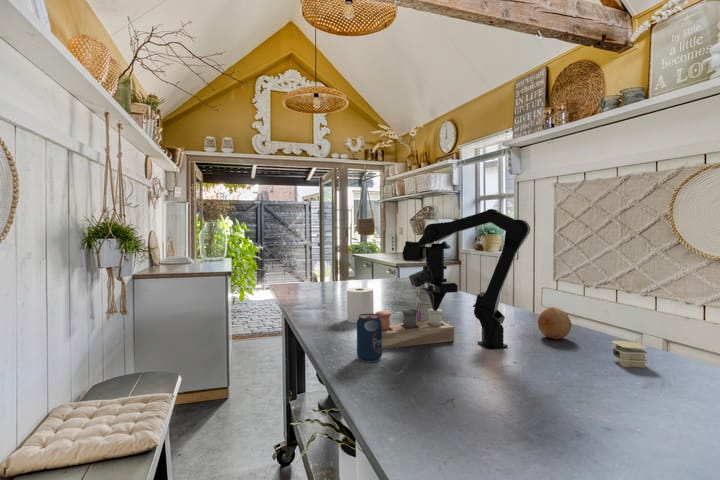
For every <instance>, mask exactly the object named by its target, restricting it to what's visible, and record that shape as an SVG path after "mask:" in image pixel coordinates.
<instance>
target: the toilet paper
mask: <svg viewBox="0 0 720 480" xmlns="http://www.w3.org/2000/svg"><path fill="white" fill-rule="evenodd" d="M361 314H374V289H373V288H369V287H350V288H348V289H346V321H347V322H348V323H352V324H357V320H358V318H359V315H361Z"/></svg>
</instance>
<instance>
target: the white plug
mask: <svg viewBox="0 0 720 480" xmlns="http://www.w3.org/2000/svg"><path fill="white" fill-rule="evenodd" d="M443 312H444V311H443V309H441V308H438V310H436V311H434V310H433V309H428V313H429V325H430V326H441V321H442V313H443Z"/></svg>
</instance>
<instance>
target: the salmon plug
mask: <svg viewBox="0 0 720 480" xmlns="http://www.w3.org/2000/svg"><path fill="white" fill-rule="evenodd" d="M374 314H378V315H379V316H380V317H379V318H380V320H381V322H382V331H390V324H391V323H390V318H391V317H390V316H391V315H392V312H391V311H386V310H383V311H382V310H381V311H376V312H375V313H374Z"/></svg>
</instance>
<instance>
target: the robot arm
mask: <svg viewBox="0 0 720 480" xmlns="http://www.w3.org/2000/svg"><path fill="white" fill-rule="evenodd" d="M490 223H491V224H492V225H494V226H496V227H498V228H499V229H501V230H503V231H505V233H504V234H505V235H504V240H503V247H502V250H501V253H500V255H499V258H498V260H497V263H496V266H495V268H494V270H493V273H492V276H491V278H490V281H489V284H488V285H487V288H486V290H485V292H484V291H481V292H480V293H478V294H477V296H476V300H475V303H474V304H473V305H472V307H473V309H474V310H473V314H474V316H475V318H476V319H477V320H478V322H479V323H480V326H481V341H477V344H479V345H481V346H483V347H484V348H486V349H489V350H496V349H502V348H508V347H509V346H508V345H507V344H505V343H504V326H503V325H502V324H503V323H504V321H505V318H506V316H505V315H503V313H502V312H501V311H500V310H499V304H500V296H501V291H502V289H503V287H504V285H505V282H506V280H507V277H508V275H509V273H510V271H511V267H512V265H513V263H514V260H515V258H516V255H517V253H518V252H519V249H520V248H521V246H522V245H523V244H524V243H525V241H526V239H527V238H528V236H529V235H530V232H531V226H530V224H529V223H528V221H526V220H524V219H517V218H516V219H515V218H512V217H510V216H508V215H507V214H504V213H502V212H500V211H499V210H497V209H494V208H489V209H487V210H483V211H481V212H479V213H475V214H473V215H469V216H465V217H462V218H459V219H455V220H452V221H445V222H437V223H436V222H435V223H429V224H427V225H426V226H425V228H424V230H423V234H422V235H421V237H420V239H419V240H418V241H411V240H407V241H405V242H404V243H405V244H404V246H403V250H402V258H403V261H404V262H412V263H415V262H416V263H417V262H418V263H422V262H423V261H424V260H425V264H424V265H423V266H422V270H421V271H420V270H419V271H417V272H415V273H412V274H410V275H409V276H408V278H409V281H410V283H411V284H410V285H411V286H414V288H416V287H419V286H421V285H422V284H425V288H423V290H425V291H426V292H427V293H428V295H429V298H430V301H431V304H432V308H433V310H434V311H436V310H438V309H440V305H441V303H442V301H443V299H444V298H445V296H446V295H447V294H449V293H458V292H459V286H458V284H457V283H456V282H453V281H447V278H446V277H445V270H448V268H447V265H445V250H448V249H451V245H450V244H448V243H447V241H446V240H445V239H447V238H449V237H451V236H453V235H454V234H456V233H459V232H463V231H467V230H469V229H473V228H476V227H480V226H483V225H487V224H490ZM443 240H445V241H443ZM441 241H442V242H441ZM435 242H440V243H435ZM430 244H431V246H428V245H430Z"/></svg>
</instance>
